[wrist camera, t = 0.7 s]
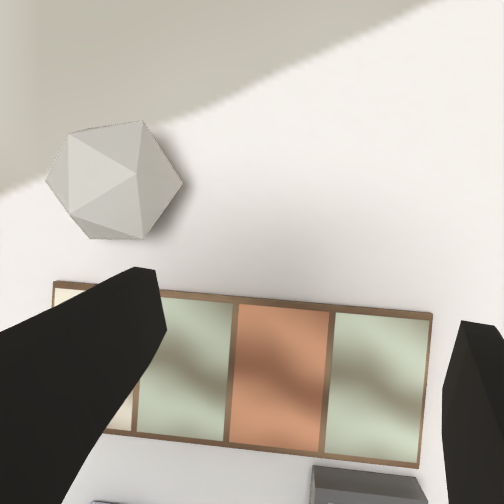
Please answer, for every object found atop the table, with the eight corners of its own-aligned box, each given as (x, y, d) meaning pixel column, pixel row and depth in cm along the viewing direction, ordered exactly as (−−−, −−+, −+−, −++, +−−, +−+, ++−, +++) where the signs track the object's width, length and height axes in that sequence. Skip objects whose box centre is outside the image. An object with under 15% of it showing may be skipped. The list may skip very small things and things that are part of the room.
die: (210, 174, 34) (143, 76, 27) (177, 268, 31) (88, 185, 23) (131, 180, 38) (52, 95, 30) (93, 265, 34) (-9, 191, 26)
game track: (416, 464, 33) (419, 469, 32) (49, 423, 35) (44, 427, 35) (430, 312, 33) (433, 314, 32) (57, 280, 35) (52, 281, 34)
